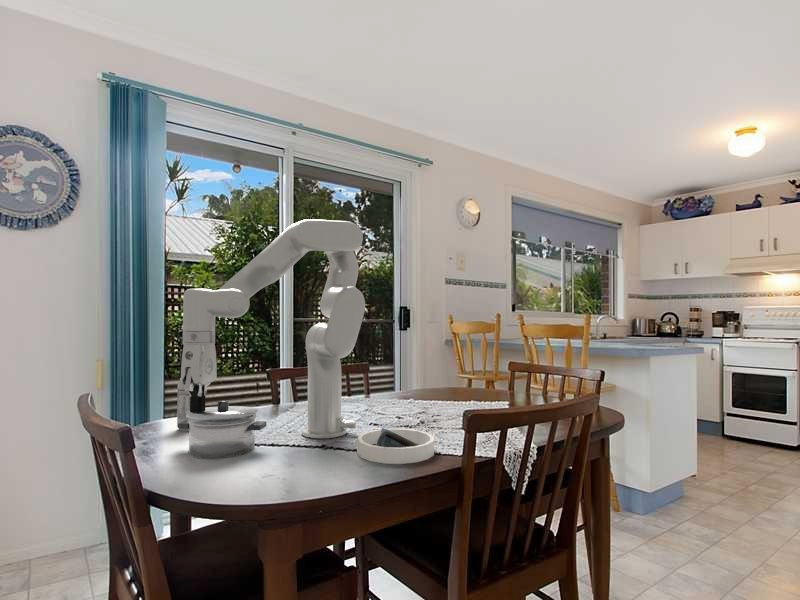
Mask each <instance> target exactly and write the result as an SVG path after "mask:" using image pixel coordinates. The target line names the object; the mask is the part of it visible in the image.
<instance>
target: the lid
mask: <svg viewBox="0 0 800 600" xmlns="http://www.w3.org/2000/svg"><path fill="white" fill-rule="evenodd" d="M229 403H230V402H229V400H219V401H217V406H209V407H206V406H205V411H204V412H201V413H195V412H190V411H187V414H186V417H187V418H189V419H194V420H208V421H216V420H234V419H242V418H248V417H253V416H255V415H256V416H257V415H258V410H259V409H258V408H255V407H252V406H245V405H244V406H243V405H242V406H240V405H239V406H238V405H230V404H229Z"/></svg>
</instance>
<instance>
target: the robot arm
mask: <svg viewBox="0 0 800 600" xmlns="http://www.w3.org/2000/svg"><path fill="white" fill-rule="evenodd" d="M363 235H364V234H363V231H362V230H361V228H360V227H359V225H357V224H356V223H354V222H352V221H348V220H331V219H330V220H329V219H328V220H327V219H314V218H312V219H311V218H310V219H309V218H308V219H303V220H299V221H297V222H295V223H292V224H291V225H289V226H288V227H287V228H285V230H283V232H281V233H280V234H279V235H277V237H276V238H275V239H274V240H272V242H271V243H270V244H269V245H268V246H266V247H265V248H264V249H263V250H262V251H260V253H258V254H257V255H256V256H255V257H254V258H252V260H250V261H249V262H248V263H247V264H246V265H245V266H243V268H241V269H240V270H239V271H238V272H236V273H235V274H233V276H232V277H231V278H230V279H228V280H227V281H226V283H224V284H223V285H222V286H221V287H220V288H219V289H216V290H212V289H211V288H210V289H208V288H188V289H186V290H185V291H184V293H183V305H182V313H183V314H182V345H183V346H182V347H183V348H182V354H181V355H182V356H181V365H180V366H181V367H180V378H181V382H182V384H184V385H185V391H189V396H190V412H195V413H201V412H204V411H205V408H206V395H207V390H208V386H209V385H211V383H213V382H214V381H216V380H217V378H218V377H217V376H218V374H217V373H218V371H217V370H218V369H217V368H218V367H217V350H216V345H215V344H216V317H220V318H227V319H237V318H241V317H243V316H244V315H245V314H246V313H247V312H248V311H249V309H250V298H251V297H253V296H254V295H255V294H256V293H257V292H259V291H260V290H262V289H263V288H265V287H267V286H269V285H271V284H274V283H275V282H277V281H278V280H280V279H281V278H282V277H284V275H285V274H287V272H289V270H291V268H292V267H294V265H295V264H297V262H298V261H300V260H302V259H301V258H303V257H304V256H305V255H306V254H307V253H308V252H313V251H317V252H319V251H320V252H324V254H325V255H326V256H327V259H328V261H329V269H328V270H329V271H328V275H327V279H326V282H325V284H324V285H325V286H324V289H323V291H322V296H321V298H320V301H319V302H320V303H319V309H320V312H321V314H322V315H323V316H324V317H325V318H328V321H327V322H318V323H316V324H314V325H312V326H311V327H310V328H309V330H308V331H307V333H306V336H305V352H306V358H307V426H306V427H304V428H302V429H301V434H302V436H304V437H305V438H309V437H310V438H311V439H332V438H338V437H339V438H340V437H342V436H344V435H346V433H347V430H348V429H353V430H354V429H355V430H356V428H357V422H356V421H354V420H351V419H350V420H346V419H344V417H345V416H344V415H342V363H341V359H343V358H346V357H347V356H349V355H350V354H351V353H352V351H353V350H354V348H355V346H356V343H357V340H358V337H359V333H360V330H361V325H362V322H363V319H364V315H365V311H366V299H365V297H364V294H363V293H362V291H360V290H359V289H358V288H357V287H356V286H357V285H356V284H357V281H358V276H359V269H360V268H359V263H358V259H357V256H356V254H355V251H356V250H358V249H360V247H361V246H362V243H363V238H364V236H363Z"/></svg>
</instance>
